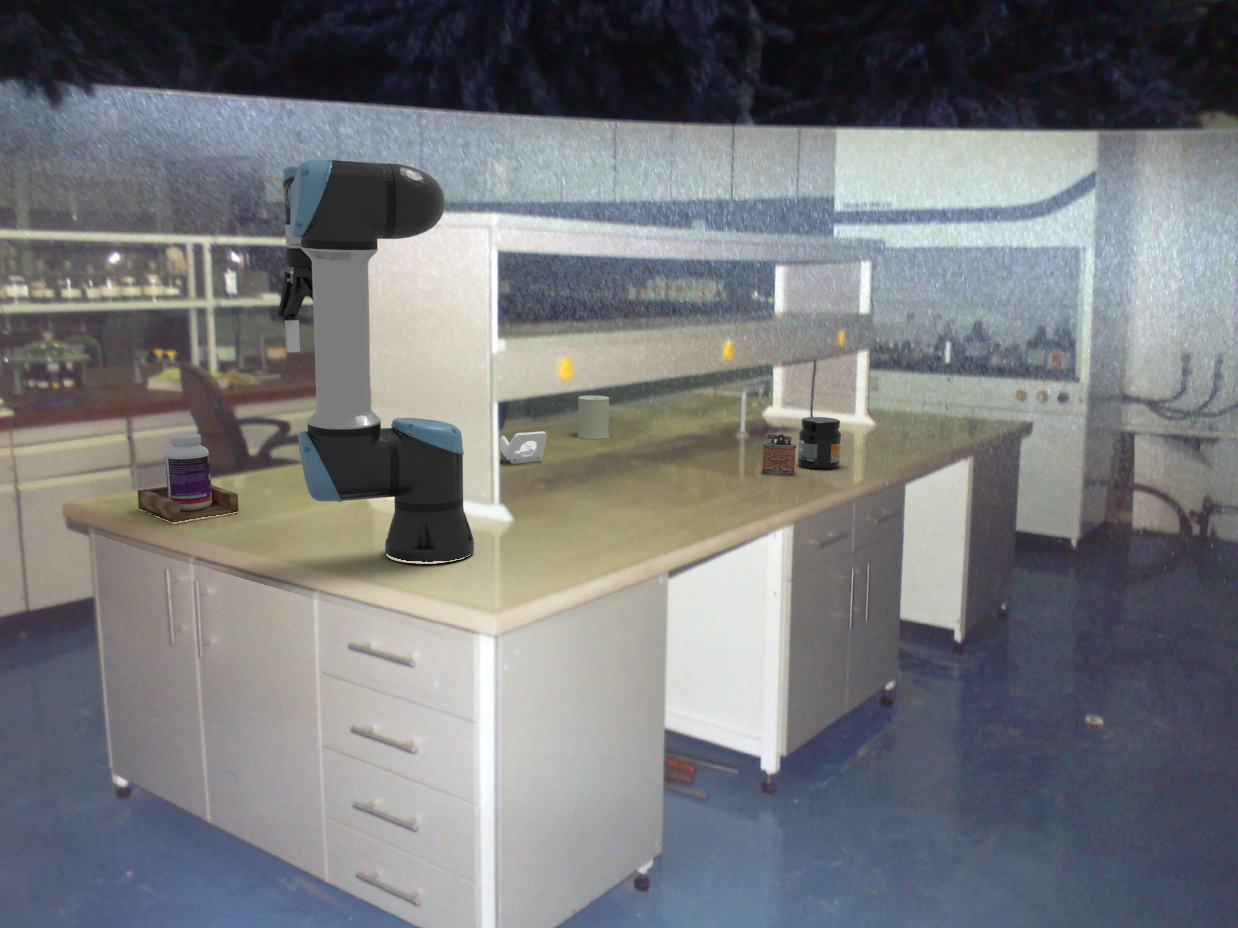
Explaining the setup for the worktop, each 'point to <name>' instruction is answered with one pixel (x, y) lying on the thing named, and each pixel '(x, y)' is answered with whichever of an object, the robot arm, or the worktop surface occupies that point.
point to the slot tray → (169, 509)
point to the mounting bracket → (523, 447)
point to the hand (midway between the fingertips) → (310, 354)
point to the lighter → (779, 455)
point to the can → (593, 417)
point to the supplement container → (819, 443)
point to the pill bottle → (188, 472)
